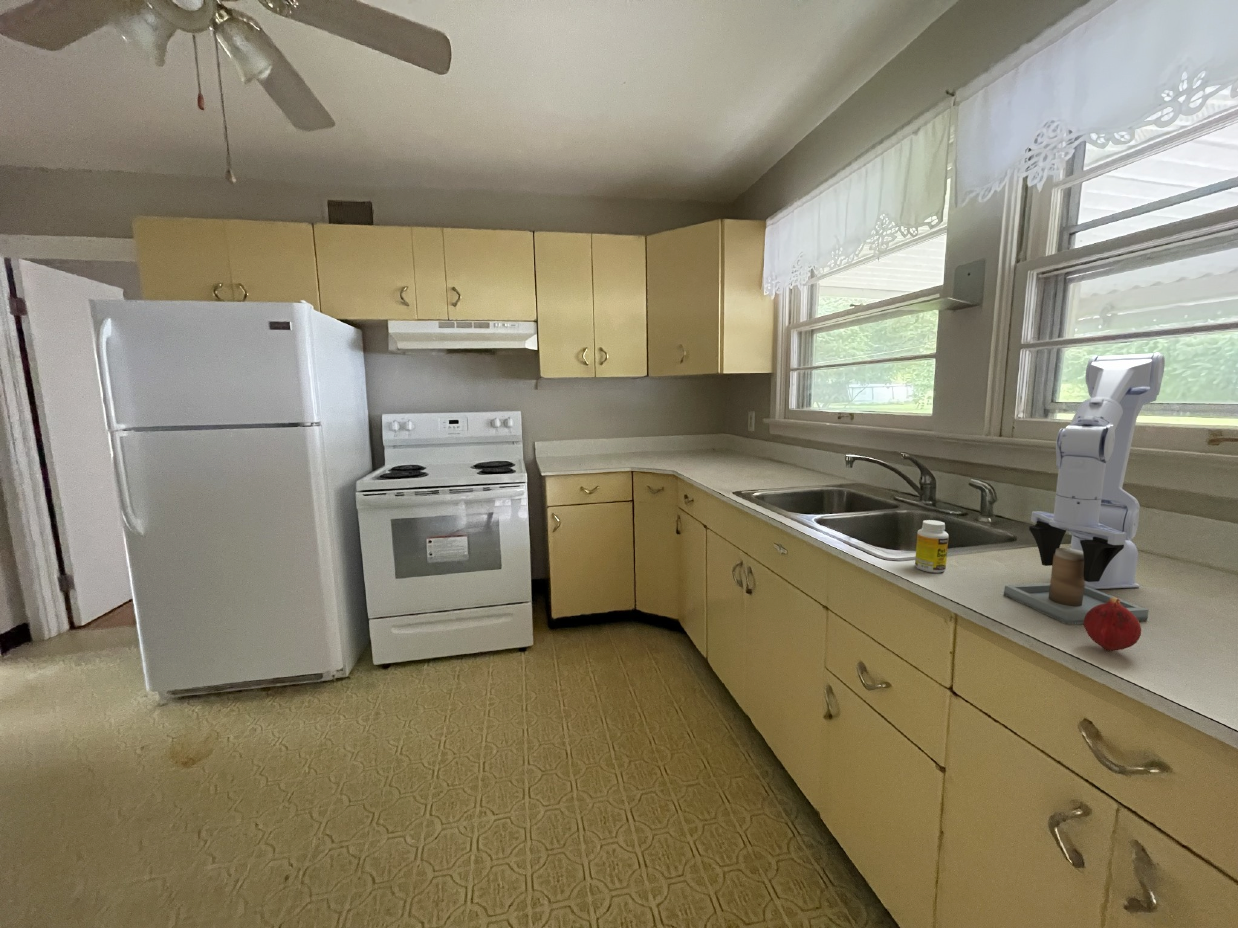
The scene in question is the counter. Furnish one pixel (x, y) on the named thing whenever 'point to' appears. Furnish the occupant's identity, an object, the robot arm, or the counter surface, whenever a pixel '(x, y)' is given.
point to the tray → (1039, 601)
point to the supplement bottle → (932, 547)
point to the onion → (1112, 626)
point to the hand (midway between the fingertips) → (1069, 572)
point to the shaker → (1067, 577)
